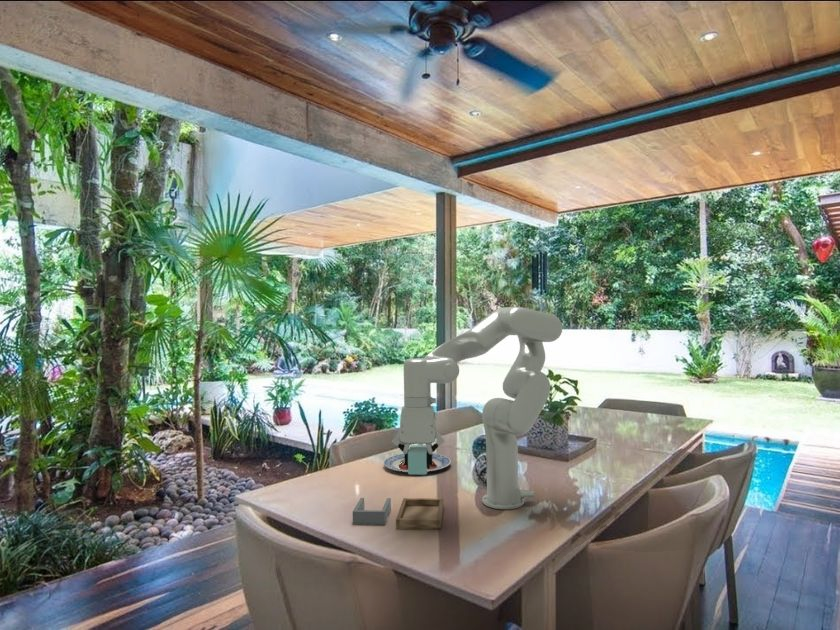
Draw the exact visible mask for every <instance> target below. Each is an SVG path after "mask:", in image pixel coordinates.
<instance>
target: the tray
mask: <svg viewBox="0 0 840 630" xmlns="http://www.w3.org/2000/svg"><path fill="white" fill-rule="evenodd" d="M443 514H444V498H432V497H431V498H424V497H423V498H418V497H417V498H416V497H415V498H412V497H411V498H410V497H409V498H407V497H403V499H402V501H401V505H400V507H399V510H398V512H397V516H396V518H395V529H396V530H436V529H437V531H438V530H441V528H442V522H443Z"/></svg>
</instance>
